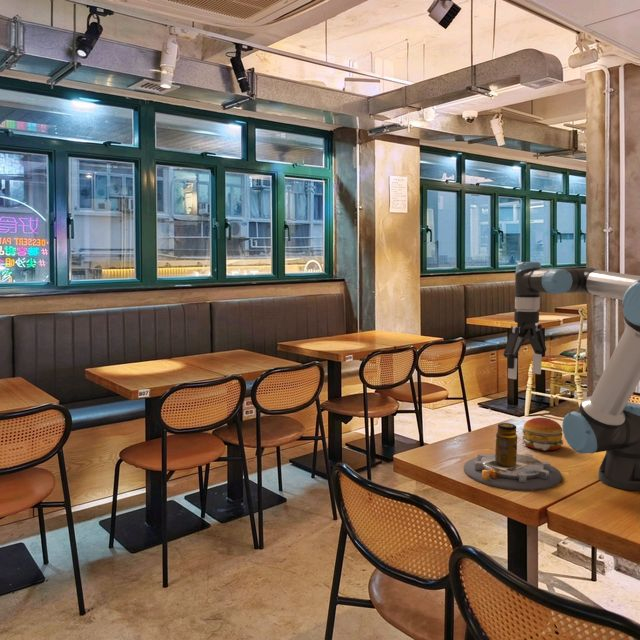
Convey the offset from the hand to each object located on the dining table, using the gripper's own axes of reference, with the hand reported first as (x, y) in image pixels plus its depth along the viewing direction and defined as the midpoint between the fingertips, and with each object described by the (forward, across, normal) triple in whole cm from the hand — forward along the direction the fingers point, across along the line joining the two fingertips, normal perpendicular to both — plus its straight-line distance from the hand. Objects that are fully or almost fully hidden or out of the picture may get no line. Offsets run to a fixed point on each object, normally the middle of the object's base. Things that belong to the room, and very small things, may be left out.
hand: (524, 376), depth 199 cm
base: (+27, +16, +7) cm, 32 cm away
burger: (+27, -15, -2) cm, 31 cm away
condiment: (+23, +20, +7) cm, 32 cm away
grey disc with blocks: (+25, +16, +7) cm, 31 cm away
